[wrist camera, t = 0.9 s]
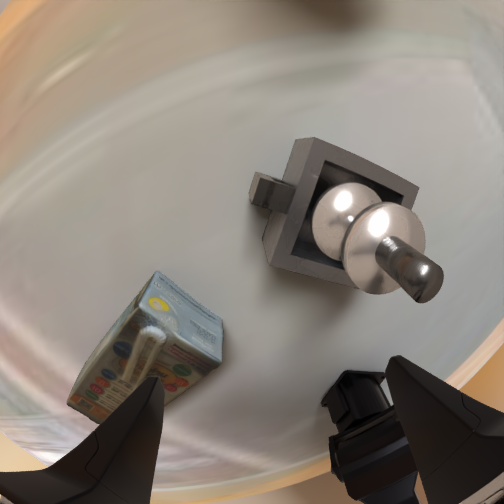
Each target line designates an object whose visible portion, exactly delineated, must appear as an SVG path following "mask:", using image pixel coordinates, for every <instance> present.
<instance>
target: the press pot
mask: <svg viewBox="0 0 504 504" xmlns="http://www.w3.org/2000/svg"><path fill="white" fill-rule="evenodd" d="M341 182H356V183H359V184H362V185H365V186H367V187H369V188H371V189H372V190H373V191H374V192H375V193H376V194H377V195H378V196H379V198H380V199H381V201H382V202H392V203H396V204H398V205H401V206H403V207H405V208H408V209H409V210H411V209H412V207H413V204H414V201H415V199H416V196H417V193H418V190H419V187H418V186H416V185H414V184H412V183H411V182H409V181H407V180H405V179H403V178H401V177H400V176H398V175H396V174H394V173H392V172H390V171H388V170H386V169H384V168H382V167H380V166H378V165H376V164H374V163H372V162H370V161H368V160H366V159H364V158H362V157H360V156H357V155H355V154H353V153H351V152H349V151H346V150H344V149H342V148H340V147H337V146H335V145H333V144H330V143H328V142H325V141H323V140H320V139H318V138H315V137H311V138H303V139H296V140H295V143H294V146H293V149H292V152H291V155H290V158H289V161H288V164H287V167H286V170H285V172H284V175H283V178H282V180H280V179H277V178H274V177H271V176H268V175H265V174H261V173H258V172H255V175H254V178H253V181H252V184H251V187H250V190H249V196H250V200H251V203H252V204H254V205H257V206H261V207H264V208H267V209H271V210H272V211H271V214H270V217H269V220H268V223H267V225H266V228H265V231H264V234H263V237H262V241H263V244H264V248H265V252H266V255H267V259H268V263H269V265H270V266H274V267H278V268H281V269H285V270H289V271H293V272H296V273H300V274H304V275H308V276H312V277H315V278H319V279H323V280H327V281H331V282H334V283H338V284H342V285H346V286H350V287H354V288H358V287H357V286H356V285H355V283H354V282H353V281H352V280H351V278H350V277H349V276H348V274H347V273H346V271H345V269H344V267H343V264H342V261H338V260H335V259H332V258H330V257H329V256H327V255H326V254H324V253H323V252H322V250H321V249H320V248H319V247H318V245H317V244H316V243H315V241H314V239H313V236H312V233H311V228H310V218H311V213H312V209H313V207H314V205H315V203H316V201H317V199H318V198H319V197H320V195H321V194H322V193H323V192H324V191H325V190H327V189H328V188H329V187H331V186H333V185H335V184H338V183H341ZM358 289H360V288H358Z"/></svg>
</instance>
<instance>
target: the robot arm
mask: <svg viewBox="0 0 504 504" xmlns="http://www.w3.org/2000/svg"><path fill="white" fill-rule="evenodd" d="M385 377H386V380H387V383H388V387H389V390H390V394H391V397H392V401H393V404H394V405H392V406H391V405H390V403H389V401H388V399H387V397H386V395H385V393H384V391H383V389H382V388H381V386H380V384H381V383H382V381H383V380H384V379H385ZM164 400H165V390H164V387H163V385H162V382H161V379H160V377H158V376H148V377H147V378H146V379H145V380H144V381H143V382H142V383H141V384H140V385H139V386H138V387H137V388H136V389H135V390H134V391H133V392H132V393H131V394H130V395H129V396H128V397H127V398H126V399H125V400H124V401H123V402H122V403H121V404H120V405H119V406H118V407H117V408H116V409H115V410H114V411H113V412H112V413H111V414H110V415H109V416H108V417H107V418H106V419H105V420H104V421H103V422H102V423H101V424H100V425H99V426H98V427H97V428H96V429H95V431H93V432H92V433H91V434H90V435H89V436H88V437H87V438H86V439H85V440H83V441H82V442H81V443H80V444H79V445H78V446H77V447H75V448H74V449H73V450H72V451H70V452H69V453H68V454H66V455H65V456H64V457H62V458H61V459H60V460H58V461H57V462H56V463H54V464H53V465H51V466H50V467H48V468H45V469H42V470H36V471H21V472H0V494H1V498H0V504H150V497H151V490H152V484H153V478H154V472H155V466H156V460H157V455H158V449H159V444H160V439H161V433H162V427H163V413H164ZM321 405H322V407H328V409H329V412H330V415H331V419H332V422H333V423H334V424H336V426H337V429H338V432H339V433H338V434H336V435H332V436H330V437H329V450H330V459H331V472H332V474H334V475H336V476H337V478H338V479H339V480H340V481H341V482H342V483H345V486H346V489H347V492H348V495H349V496H350V497H351V498H353V499H354V500H356V501H357V500H359V501H361V502H363V503H364V504H421V502H420V500H419V497H418V495H417V492H416V490H415V484H416V480H417V475H418V472H419V475H420V478H421V481H422V485H423V488H424V491H425V494H426V497H427V501H428V504H459V503H460V502H462V503H463V504H504V413H503V412H501V411H498V410H496V409H494V408H491V407H489V406H487V405H485V404H483V403H481V402H479V401H477V400H475V399H473V398H471V397H469V396H468V395H466V394H464V393H461V392H460V391H459V390H457V389H456V388H454V387H452V386H451V385H449V384H447V383H446V382H444V381H442V380H441V379H439V378H437V377H436V376H434V375H432V374H431V373H429V372H427V371H426V370H424V369H422V368H421V367H419V366H417V365H416V364H414V363H412V362H411V361H409V360H407V359H406V358H404V357H402V356H401V355H397V356H393V357H391V358H390V360H389V362H388V365H387V368H386V370H385V373H384V372H366V371H352V370H347V371H344V372H343V374H342V375H341V376H340V378H339V379H338V381H337V382H336V383H335V385H334V386H333V387H332V389H331V390H330V392H329V393H328V394H327V396H326V397H325V398H324V400H323V401H322V402H321Z"/></svg>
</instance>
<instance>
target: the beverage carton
mask: <svg viewBox="0 0 504 504" xmlns="http://www.w3.org/2000/svg"><path fill="white" fill-rule="evenodd" d="M222 345H223V328H222V319H221V318H220V317H219V316H217V315H215V314H214V313H212V312H211V311H210V310H208V309H207V308H205V307H204V306H202V305H201V304H200V303H198V302H197V301H196V300H195V299H193V298H192V297H191V296H189V295H188V294H187V293H185V292H184V291H183V290H182V289H181V288H179V287H178V286H177V285H175V284H174V283H173V282H172V281H171V280H169V279H168V278H167V277H166V276H164V275H163V274H162V273H160V272H159V271H156V272H155V273H154V274H153V276H152V277H151V278H150V279H149V280H148V282H147V283H146V284H145V286H144V287H143V288H142V290H141V291H140V292H139V294H138V295H137V296H136V297H135V299H134V300H133V301H132V302H131V303H130V305H129V306H128V307H127V308H126V310H125V311H124V312H123V314H122V315H121V316H120V317H119V319H118V320H117V321H116V322H115V324H114V325H113V326H112V327H111V329H110V330H109V331H108V332H107V334H106V335H105V336H104V338H103V339H102V340H101V342H100V343H99V344H98V346H97V347H96V348H95V350H94V351H93V353H92V354H91V356H90V357H89V359H88V360H87V361H86V363H85V365H84V366H83V368H82V370H81V372H80V374H79V375H78V377H77V380H76V382H75V384H74V386H73V388H72V390H71V392H70V395H69V398H68V400H67V405H68V406H70V407H71V408H73V409H75V410H77V411H79V412H80V413H82V414H83V415H85V416H87V417H88V418H89V419H90V420H92V421H94V422H95V423H97V424H101V423H102V422H103V421H104V420H105V419H106V418H107V417H108V416H109V415H110V414H111V413H112V412H113V411H114V410H115V409H116V408H117V407H118V406H119V405H120V404H121V403H122V402H123V401H124V400H125V399H126V398H127V397H128V396H129V395H130V394H131V393H132V392H133V391H134V390H135V389H136V388H137V387H138V386H139V385H140V384H141V383H142V382H143V381H144V380H145V379H146V378H147V377H148V376H158V377H160V379H161V382H162V385H163V387H164V390H165V400H164V406H166V405H167V404H168V403H170V402H171V401H172V400H174V399H175V398H177V397H178V396H179V395H181V394H182V393H183V392H185V391H186V390H187V389H189V388H190V387H191V386H192V385H194V384H195V383H196V382H197V381H198V380H199V379H200V378H202V377H204V376H206V375H208V373H210V372H211V371H212V370H213V369H215V368H217V367H218V366H219V365H220V364H221V363H222Z"/></svg>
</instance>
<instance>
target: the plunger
mask: <svg viewBox="0 0 504 504" xmlns="http://www.w3.org/2000/svg"><path fill="white" fill-rule="evenodd" d="M310 228H311V233H312V236H313V239H314V241H315V243H316V244H317V245H318V247H319V248H320V249H321V250H322V252H323V253H324V254H326V255H327V256H329V257H330V258H332V259H335V260H338V261H342V264H343V267H344V269H345V271H346V273H347V274H348V276H349V277H350V278H351V280H352V281H353V282H354V283H355V285H356V286H357V287H358V288H360V289H361V290H363V291H365V292H367V293H370V294H386V293H390V292H392V291H394V290H396V289H398V288H400V287H402V288H403V289H404V290H405V291H406V292H407V293H408V294H409V295H410V296H411V297H412V298H413V299H414V300H415V301H416V302H417V303H425V302H428V301H430V300H431V299H432V298H433V297H435V295H436V294H437V293H438V292H439V290H440V288H441V286H442V283H443V279H444V274H443V270H442V268H441V267H440V266H439V265H437V264H436V263H434V262H433V261H432V260H430V259H429V258H427V257H426V256H425V255H424V250H425V232H424V228H423V225H422V223H421V221H420V219H419V218H418V217H417V215H416V214H415V213H413V212H412V211H411V210H409V209H408V208H405V207H403V206H401V205H398V204H396V203H392V202H382V201H381V199H380V198H379V196H378V195H377V194H376V193H375V192H374V191H373V190H372V189H371V188H369V187H367V186H365V185H362V184H359V183H356V182H341V183H338V184H335V185H333V186H331V187H329V188H328V189H327V190H325V191H324V192H323V193H322V194H321V195H320V197H319V198H318V199H317V201H316V203H315V205H314V207H313V209H312V213H311V218H310Z"/></svg>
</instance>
